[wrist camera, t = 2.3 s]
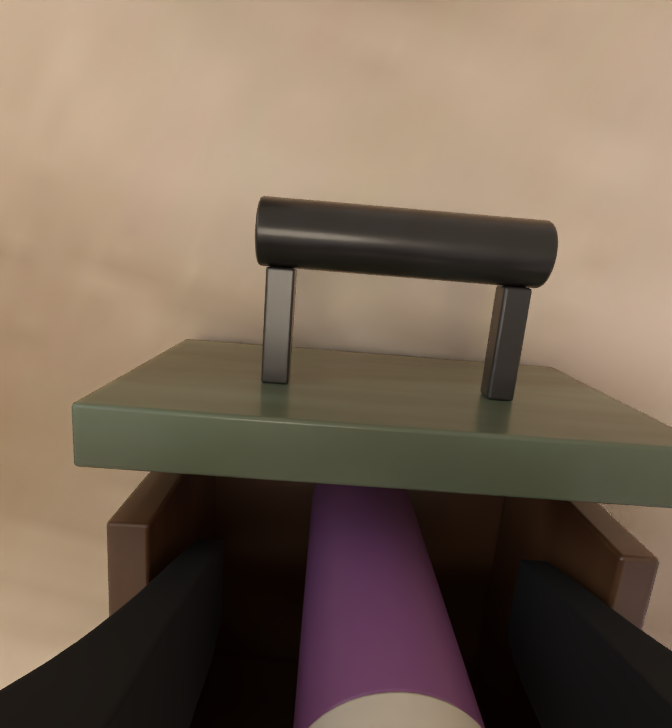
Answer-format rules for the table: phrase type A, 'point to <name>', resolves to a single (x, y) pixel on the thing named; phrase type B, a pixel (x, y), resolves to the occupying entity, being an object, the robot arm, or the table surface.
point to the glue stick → (375, 621)
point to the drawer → (375, 455)
